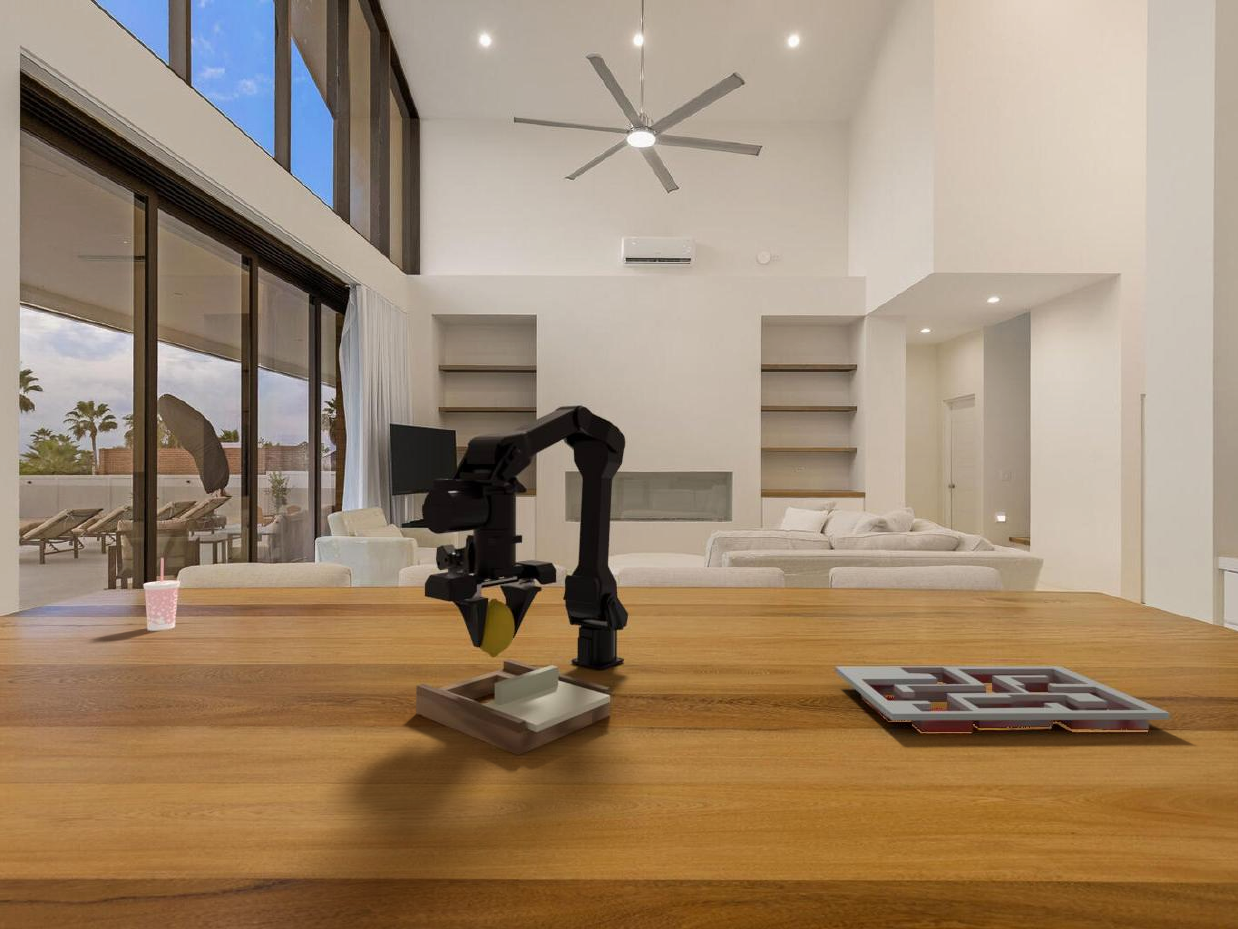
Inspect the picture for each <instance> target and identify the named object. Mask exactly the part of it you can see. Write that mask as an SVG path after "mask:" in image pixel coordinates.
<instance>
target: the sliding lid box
mask: <svg viewBox="0 0 1238 929" xmlns="http://www.w3.org/2000/svg"><path fill="white" fill-rule="evenodd" d="M541 668H542V667H537V666H534V665H530V664H527V663H525V662H524V663H523V662H519V661H516V660H513V659H509V658H508V659H505V660H503V668H501V669H499V670H495V671H492V672H489V673H484V674H481V675H478V676H474V677H471V678H468V679H465V680H461V681H457V682H455V683H452V684H448V685H444V686H441V687H437V688H436V687H434V686H431V685H428V684H424V683H420V684H418V685H416V693H415V695H416V701H415V702H416V705H415V706H416V707H415V708H416V709H415V711H416V712H415V714H416V713H417V715H419V714H420V715H419V716H421V715H422V716H421V717H424V718H426V719H428V720H431V721H434V722H436V723H438V724H441V725H443V726H446V727H448V728H451V729H452V730H455V731H458V732H460V733H463V734H465V735H467V736H470V737H472V738H475V739H478V740H480V741H482V742H485V743H487V744H489V745H492V746H494V747H497V748H498V749H501V750H504V751H507V752H509V753H511V754H514V755H516V756H518V757H519V756H521V755H525V754H526V753H528V752H531V751H532V750H535V749H538V748H539V747H542V746H544V745H547V744H549V743H552V742H553V741H555V740H558V739H561V738H562V737H565V736H567V735H569V734H571V733H573V732H577V731H578V730H581V729H583V728H586V727H588V726H589V725H590V726H591V725H593V724H595V723H596V722H599V721H601V720H603V719H605V718H609V717H610V716H611V711H610V710H611V701H610V702H608V703H606V704H604V705H601V706H599V707H596V708H594V709H591V710H589V711H587V712H584V713H582V714H579V715H577V716H574V717H572V718H570V719H567V720H565V721H562V722H560V723H557V724H555V725H553V726H550V727H548V728H545V729H543V730H540V731H538V732H535V731H532V730H530V729H527V728H526V720H523V719H520V718H517V717H515V716H512V715H509V714H506V713H503V712H501V711H498V710H495V709H492V708H490V707H487V706H484V705H481V704H483V703H482V702H479V701H477V699H480V698H483V697H486V696H488V694H489V695H492V694H495V683H497V682H500V681H503V680H506V679H509V678H512V677H516V676H519V675H522V674H525V673H528V672H532V671H535V670H538V669H541ZM558 681H562V682H565V683H569V684H572V685H576V686H579V687H583V688H586V689H589V690H593V691H596V692H600V693H603V694H607V695H610V696H611V687H609V686H605V685H602V684H598V683H594V682H591V681H587V680H584V679H580V678H577V677H572V676H569V675H565V674H562V673H559V672H558ZM491 693H492V694H491Z"/></svg>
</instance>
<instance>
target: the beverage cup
mask: <svg viewBox="0 0 1238 929" xmlns="http://www.w3.org/2000/svg"><path fill="white" fill-rule="evenodd" d="M164 561H165V560H164V557H160V580H157V581H150V582H145V583H143V589H144V593H145V594H144V596H145V607H146V608H145V610H146V611H145V612H146V624H147V627H146V628H147V631H152V632H154V631H165V630H170V629H173V628H175V627H176V618H177V617H176V616H177V606H178V605H177V604H178V593H179V587H180V586H181V585H180V584H181V581H180V580H164V569H165V568H164V566H165V565H164V564H165V563H164Z"/></svg>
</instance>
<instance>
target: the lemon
mask: <svg viewBox="0 0 1238 929" xmlns="http://www.w3.org/2000/svg"><path fill="white" fill-rule="evenodd" d="M514 630H515V625H514V619H513V615H512V612H511V610H510V608H509V607H508V606H507V605H506V603H504V602H501V601H500V600H498V599H497V598H491V599H490V600H489V601H488V607H487V614H486V621H485V628H484V635H483V640H482V644H481V647H479V648H478V649H480V650H481V651H482V652H484V653H487V654H488V655H489V656H490V657H491V658H496V657H498V656H499V655H500V653H502V652H504V651H505V650H507V649H508V648H509V647H510V645H511V644H512V642H513V639H514V638H513V636H514Z"/></svg>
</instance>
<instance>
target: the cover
mask: <svg viewBox="0 0 1238 929" xmlns="http://www.w3.org/2000/svg"><path fill="white" fill-rule="evenodd" d="M540 668H541V669H538V670H535V671H532V672H528V673H525V674H522V675H519V676H516V677H512V678H509V679H506V680H503V681H500V682H497V683H495V693H494V700H491V701H487V702H485V703H482V704H481V705H484V706H487V707H490V708H492V709H495V710H498V711H501V712H503V713H506V714H509V715H512V716H515V717H517V718H520V719H523V720H526V728H527V729H530V730H532V731H535V732H538V731H540V730H543V729H545V728H548V727H550V726H553V725H555V724H557V723H560V722H562V721H565V720H567V719H570V718H572V717H574V716H577V715H579V714H582V713H584V712H587V711H589V710H591V709H594V708H596V707H599V706H601V705H604V704H606V703H608V702H610V703H611V694H610V695H607V694H603V693H600V692H596V691H593V690H589V689H586V688H583V687H579V686H576V685H572V684H569V683H565V682H562V681H558V673H559V666H557V665H553V664H551V665H547V666H545V667H540Z"/></svg>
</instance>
